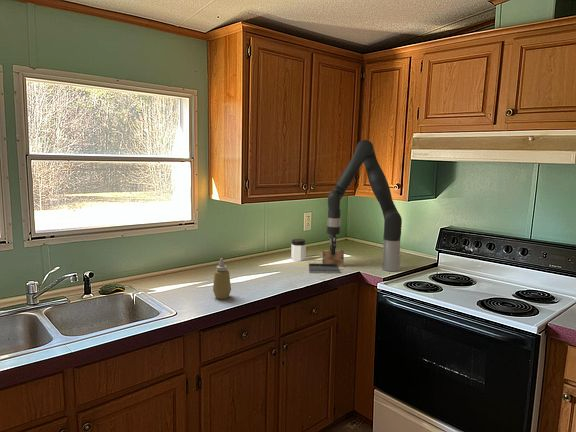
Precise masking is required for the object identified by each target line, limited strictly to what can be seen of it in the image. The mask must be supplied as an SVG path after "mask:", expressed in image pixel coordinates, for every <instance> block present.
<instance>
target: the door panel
mask: <svg viewBox="0 0 576 432" xmlns="http://www.w3.org/2000/svg"><path fill="white" fill-rule="evenodd" d="M344 257H345V252H344V250H343V249H342V250H339V249H337V250H336V249H335V255H331V250H330V249H322V261H321V262H322V263H321V264H338V267H342V268H343V267H344V262H345V261H344V259H345V258H344Z"/></svg>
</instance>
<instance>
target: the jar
mask: <svg viewBox="0 0 576 432" xmlns="http://www.w3.org/2000/svg"><path fill="white" fill-rule="evenodd" d="M290 248H291V249H290V250H291V253H290V254H291V255H290V258H291V260H293V261H297V262H302V261H304V260H306V258H307V251H306V250H307V245H306V239H304V238H294V239H292V240H291V247H290Z"/></svg>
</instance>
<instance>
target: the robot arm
mask: <svg viewBox="0 0 576 432" xmlns="http://www.w3.org/2000/svg"><path fill="white" fill-rule="evenodd" d="M375 152H376V151H375V148H374V144H373V142H372V141H371V140H368V139H361V140H360V141H359V142H358V143H357V144H356V147H355V150H354V153H353V155H352V156H351V159H350V161H349V162H348V164H347V165H346V167H345V169H344V170H342V173H341V174H340V176H339V178H337V179H338V180H337V181H336V184H335V185H334V187H333V189H332V190H331V191H330V192H329V193H328V195H327V209H328V210H327V221H326V233H327V234H328V235H330V236H329V248H330V249H329V250H331V255H335V250H336V249H337V241H338V237H337V235H340V234H341V207H340V206H341V200H342V198H343V196H344V195H345V194H346V190H348V188H349V187H350V185H351V183H352V182H353V181H354V178H355V177H356V175H357V173H358V171H359V169H360V167H361V166H362V164H364V166H365V167H364V168H365V170H366V175H367V176H366V177H367V179H368V183H369V186H370V187H371V190H372V193H373V195H374V198H376V200H377V201H378V204H379V206H380V208H381V211H382V216H383V220H384V222H383V223H384V224H383V226H384V227H383V241H382V242H383V243H382V245H383V246H382V261H381V263H382V264H381V266H382V267H381V269H382V270H383V271H386V272H400V271H401V256H402V255H401V237H402V227H403V226H402V222H403V218H402V216H401V214H400V212H399V211H398V209H397V207H396V205H395V203H394V200H393V197H392V193H391V187H390V185H389V183H388V180H387V177H386V175H385V173H384V171H383V169H382V167H381V165H380V164H379V161H378V159H377V156H376V155H377V154H376V153H375Z"/></svg>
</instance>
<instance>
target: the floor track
mask: <svg viewBox="0 0 576 432" xmlns="http://www.w3.org/2000/svg"><path fill="white" fill-rule="evenodd" d="M339 272H340V271H339V267H338V264H322V263H318V262H317V263H313V262H312V263H310V262H309V263H308V273H310V274H339Z"/></svg>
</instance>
